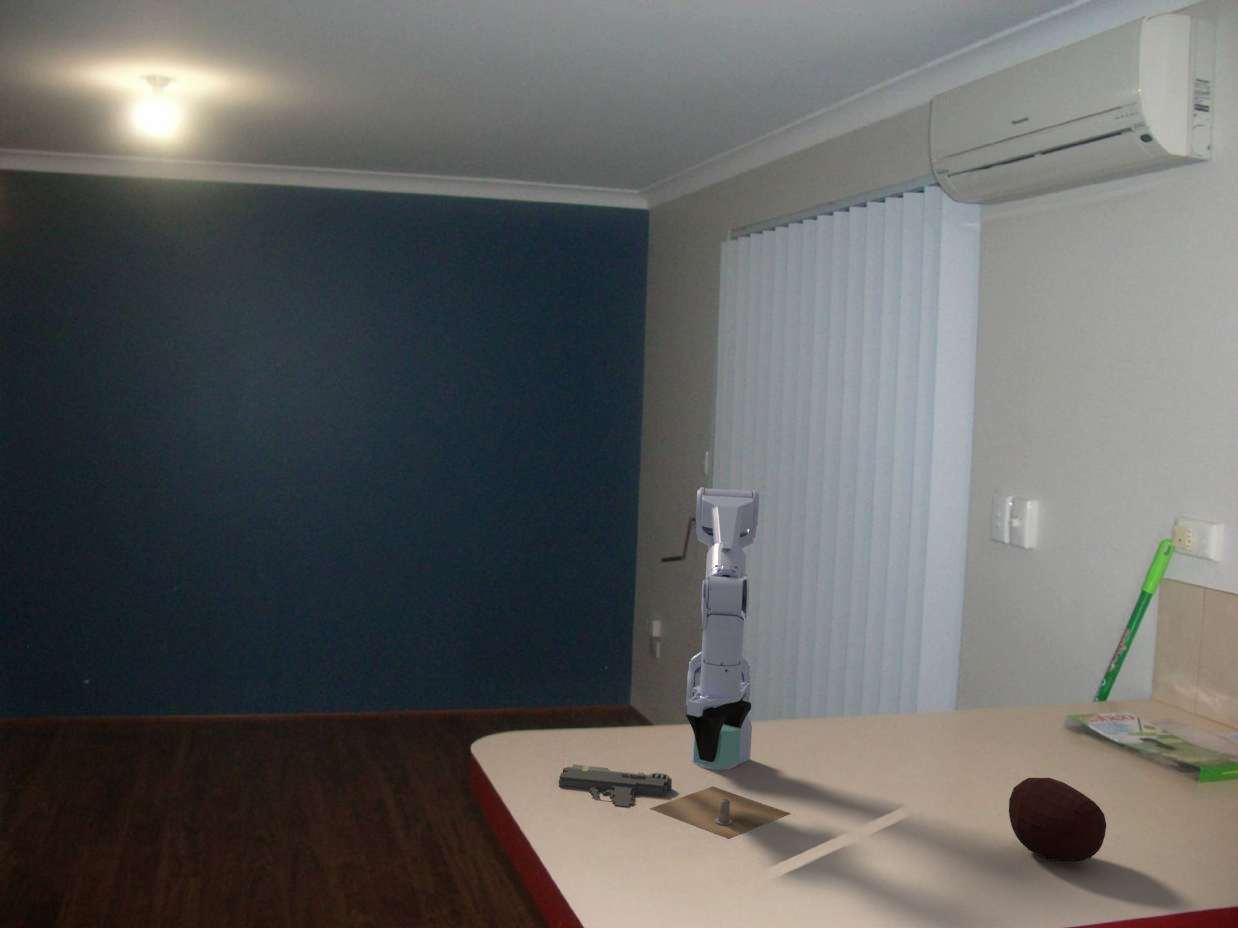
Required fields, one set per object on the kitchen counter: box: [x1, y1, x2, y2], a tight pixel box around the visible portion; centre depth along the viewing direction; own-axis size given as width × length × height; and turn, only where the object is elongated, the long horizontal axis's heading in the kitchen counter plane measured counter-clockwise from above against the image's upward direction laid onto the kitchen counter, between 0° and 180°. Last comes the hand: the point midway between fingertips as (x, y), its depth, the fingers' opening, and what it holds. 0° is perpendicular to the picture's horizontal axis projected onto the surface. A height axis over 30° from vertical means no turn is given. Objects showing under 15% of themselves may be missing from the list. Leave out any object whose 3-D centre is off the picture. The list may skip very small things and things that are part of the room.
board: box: [649, 786, 792, 840], centre depth 169 cm, size 14×14×4 cm
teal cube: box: [693, 724, 741, 771], centre depth 171 cm, size 5×5×5 cm
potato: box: [1008, 777, 1107, 863], centre depth 159 cm, size 11×13×10 cm
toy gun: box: [558, 764, 673, 808], centre depth 174 cm, size 4×16×10 cm
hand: (716, 755), depth 171 cm, fingers closed on teal cube, 5 cm apart
